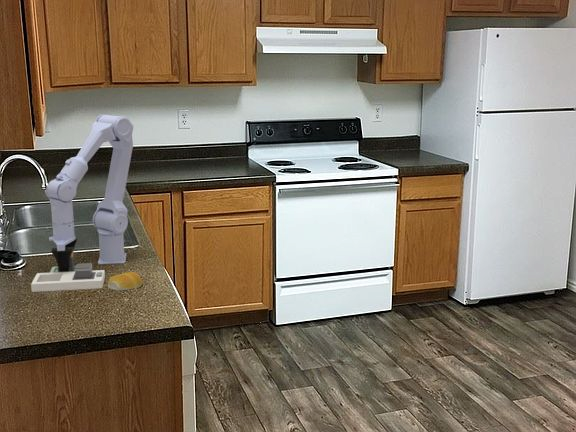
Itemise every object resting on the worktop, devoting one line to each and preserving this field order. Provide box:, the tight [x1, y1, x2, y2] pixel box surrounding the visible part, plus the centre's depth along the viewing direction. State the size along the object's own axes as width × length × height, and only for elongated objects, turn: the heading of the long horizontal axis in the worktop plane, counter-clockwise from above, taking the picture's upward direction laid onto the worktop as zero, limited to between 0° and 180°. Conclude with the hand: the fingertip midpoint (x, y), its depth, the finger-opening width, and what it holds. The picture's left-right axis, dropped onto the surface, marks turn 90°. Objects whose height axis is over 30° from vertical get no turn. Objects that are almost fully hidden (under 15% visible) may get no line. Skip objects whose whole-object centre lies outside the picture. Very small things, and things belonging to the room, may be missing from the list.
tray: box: [49, 265, 76, 273], centre depth 188 cm, size 9×9×1 cm
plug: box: [56, 247, 76, 272], centre depth 188 cm, size 4×4×7 cm
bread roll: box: [107, 271, 143, 292], centre depth 179 cm, size 8×9×4 cm
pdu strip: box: [30, 262, 106, 293], centre depth 179 cm, size 9×18×6 cm, turn 101°
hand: (66, 268), depth 188 cm, fingers open, 7 cm apart
